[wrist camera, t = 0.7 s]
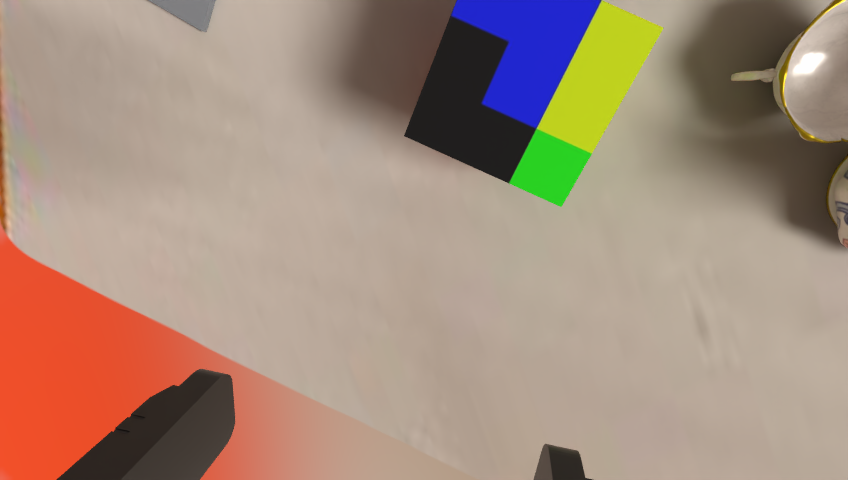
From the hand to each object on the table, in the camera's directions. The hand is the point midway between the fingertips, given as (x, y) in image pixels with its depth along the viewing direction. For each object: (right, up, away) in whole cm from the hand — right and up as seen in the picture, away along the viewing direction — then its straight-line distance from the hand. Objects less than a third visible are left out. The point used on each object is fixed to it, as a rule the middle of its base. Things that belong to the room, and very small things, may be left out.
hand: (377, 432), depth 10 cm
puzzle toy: (+8, +16, +21) cm, 28 cm away
